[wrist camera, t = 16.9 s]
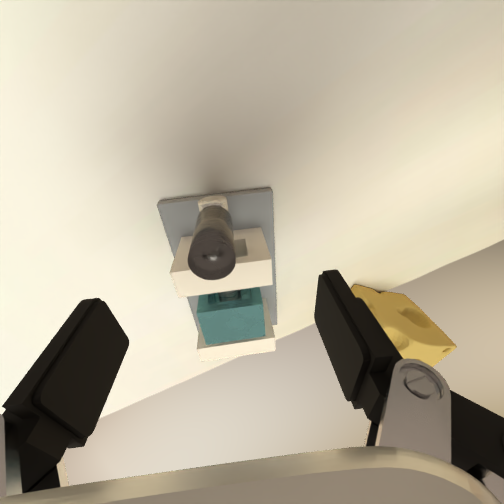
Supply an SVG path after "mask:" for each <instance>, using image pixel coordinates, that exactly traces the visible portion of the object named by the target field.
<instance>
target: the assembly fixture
mask: <svg viewBox="0 0 504 504" xmlns="http://www.w3.org/2000/svg"><path fill="white" fill-rule="evenodd" d="M209 196H224V197H226V198H227V205H228V211H229V213H230V215H231V217H232V223H233V234H234V245H235V256H236V264H235V267H234V269H233V271H232V272H231V273H230V274H229V275H228V276H226V277H225V278H222V279H219V280H205V279H202V278H200V277H198V276H196V275H195V274H194V273H193V272H192V271H191V270H190V268H189V266H188V260H187V259H188V254H189V250H190V246H191V241H192V237H193V233H194V229H195V225H196V221H197V217H198V214H199V213H200V211H199V206H198V201H199V200H200V199H202V198H205V197H209ZM157 207H158V210H159V213H160V216H161V219H162V222H163V225H164V228H165V231H166V234H167V237H168V241H169V244H170V247H171V250H172V253H173V256H174V261H173V264H172V267H171V270H170V275H171V278H172V281H173V283H174V286H175V289H176V292H177V295H178V297H179V298H181V297H187V299H188V302H189V305H190V308H191V311H192V314H193V317H194V320H195V323H196V326H197V329H198V332H199V334H198V344H197V351H198V354H199V357H200V359H201V362H204V361H211V360H217V359H224V358H230V357H237V356H244V355H250V354H257V353H263V352H269V351H275V350H276V349H275V335H274V331H273V327H272V325H277V304H276V274H275V245H274V216H273V191H272V189H271V188H264V189H255V190H247V191H238V192H230V193H221V194H212V195H204V196H195V197H187V198H178V199H170V200H161V201H159V202H158V204H157ZM253 287H260V292H261V296H262V301H263V309H264V322H265V335H266V336H263V337H257V338H250V339H243V340H237V341H230V342H223V343H216V344H210V345H206V343H205V339H204V336H203V333H202V330H201V327H200V323H199V320H198V317H197V314H196V313H197V305H198V298H199V295H203V294H210V293H217V292H225V291H232V290H239V289H246V288H253Z"/></svg>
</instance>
